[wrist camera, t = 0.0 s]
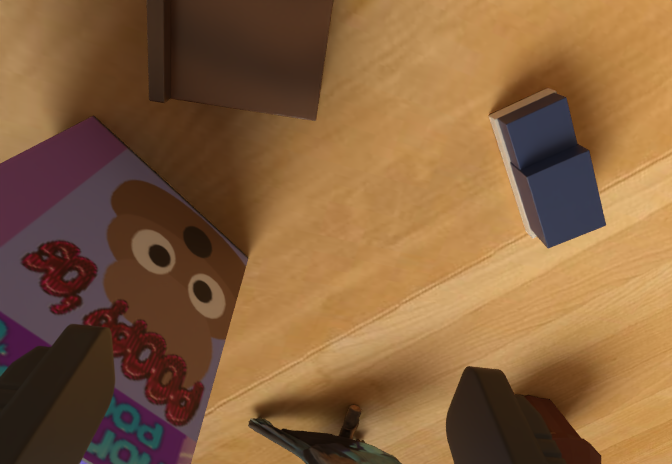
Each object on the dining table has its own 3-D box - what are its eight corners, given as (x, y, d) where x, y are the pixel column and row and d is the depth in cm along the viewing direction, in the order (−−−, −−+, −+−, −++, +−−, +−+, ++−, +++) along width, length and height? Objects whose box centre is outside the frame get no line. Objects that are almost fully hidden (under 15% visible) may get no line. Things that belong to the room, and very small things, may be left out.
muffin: (581, 385, 52) (635, 466, 43) (561, 450, 57) (606, 534, 48) (477, 390, 52) (510, 472, 43) (467, 454, 57) (494, 539, 48)
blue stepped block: (488, 115, 37) (510, 130, 33) (547, 87, 36) (579, 99, 32) (525, 231, 42) (549, 258, 38) (578, 209, 41) (609, 234, 37)
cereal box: (248, 257, 43) (175, 516, 21) (213, 285, 44) (112, 555, 23) (93, 115, 36) (-232, 282, 15) (57, 152, 38) (-288, 356, 16)
